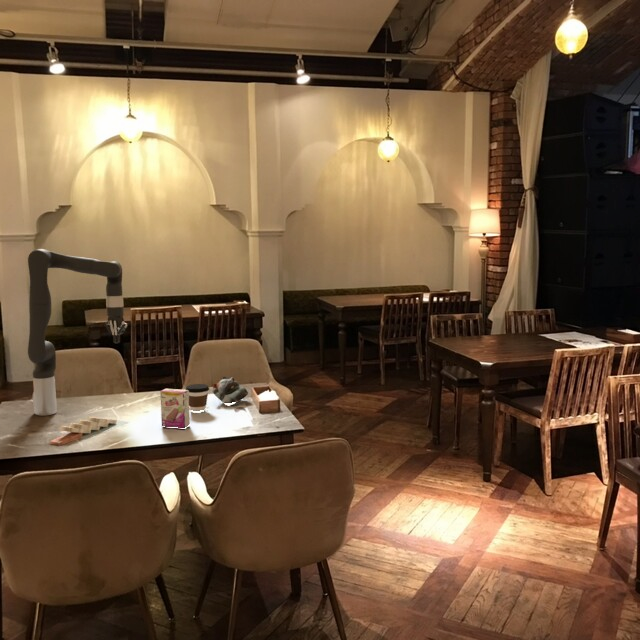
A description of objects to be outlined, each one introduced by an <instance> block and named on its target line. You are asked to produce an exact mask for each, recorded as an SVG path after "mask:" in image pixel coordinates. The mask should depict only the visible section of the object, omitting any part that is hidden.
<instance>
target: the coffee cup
mask: <svg viewBox="0 0 640 640" xmlns="http://www.w3.org/2000/svg"><path fill="white" fill-rule="evenodd" d="M184 390H189V411H191V410H193V411H200V410H204V409H205V408H206V407H207V403H208V395H209V394H208V391H210V387H209V385H207V384H205V383H194V384H189V385H187V386H186V387H185V388H184ZM205 410H206V409H205Z"/></svg>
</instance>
